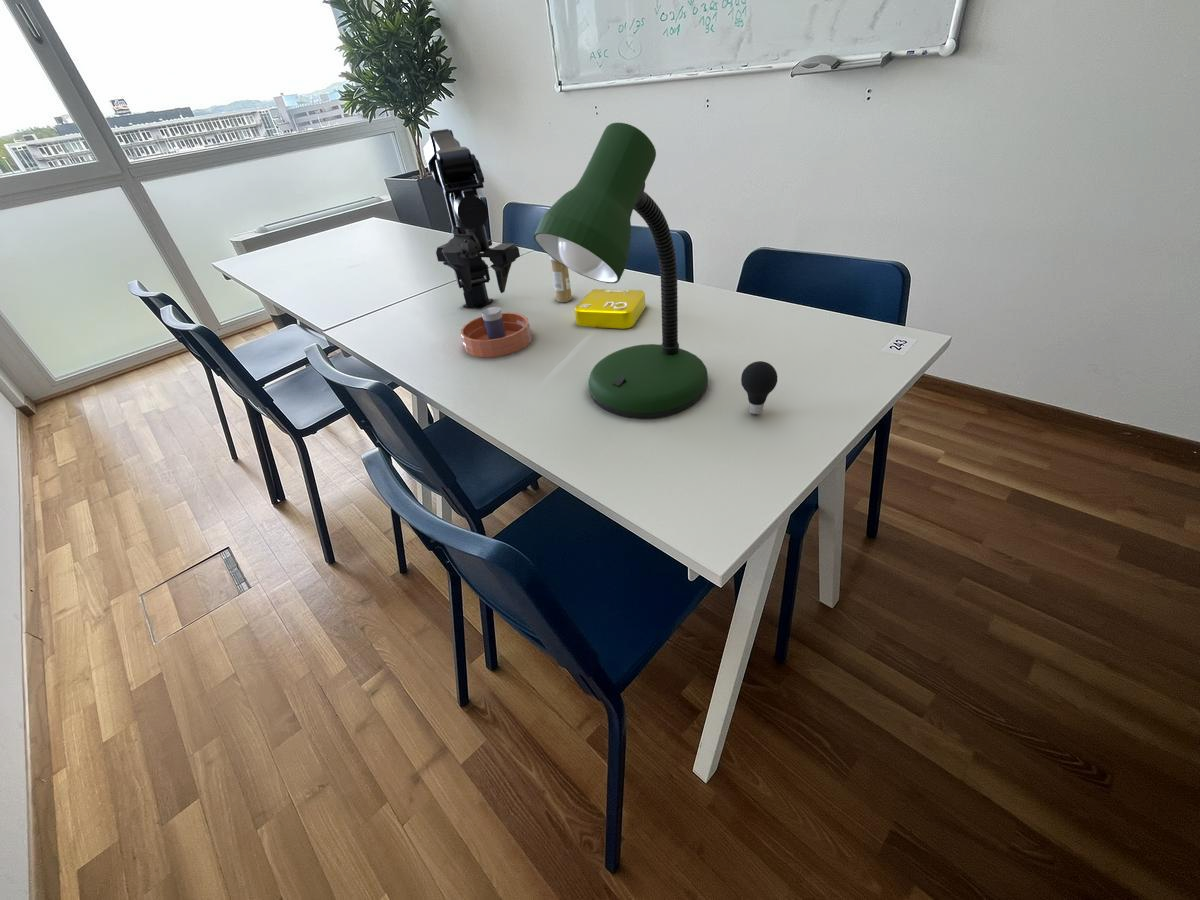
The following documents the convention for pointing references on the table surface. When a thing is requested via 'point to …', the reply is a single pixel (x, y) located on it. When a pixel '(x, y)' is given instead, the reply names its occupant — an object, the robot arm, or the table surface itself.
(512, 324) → the bowl
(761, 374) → the light bulb
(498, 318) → the salt shaker
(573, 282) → the table surface
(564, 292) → the sprinkles bottle
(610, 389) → the desk lamp
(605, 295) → the element tile
